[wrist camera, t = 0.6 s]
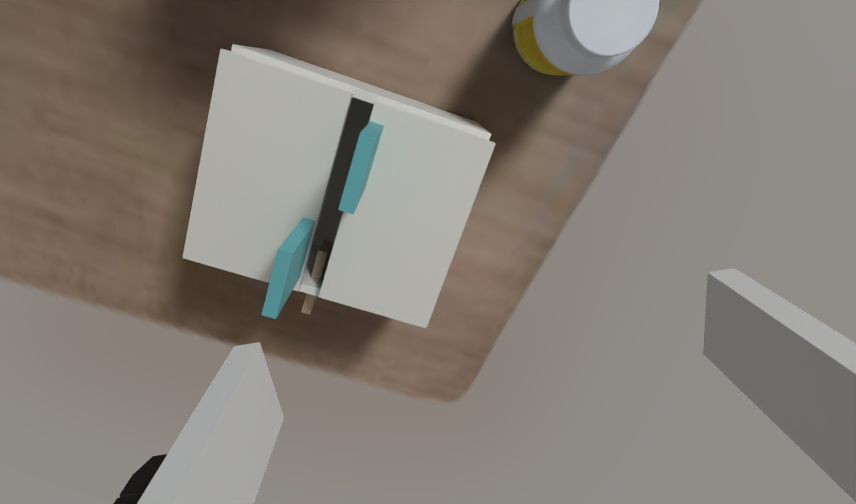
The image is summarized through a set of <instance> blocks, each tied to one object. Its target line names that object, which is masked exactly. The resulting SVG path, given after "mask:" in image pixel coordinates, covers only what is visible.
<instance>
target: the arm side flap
mask: <svg viewBox="0 0 856 504" xmlns="http://www.w3.org/2000/svg"><path fill="white" fill-rule="evenodd" d="M352 95H353V93H350V92H347V91H344V90H341V89H338V88H335V87H332V86H330V85H327V84H324V83H321V82H318V81H315V80H312V79H309V78H306V77H304V76H301V75H298V74H295V73H292V72H289V71H286V70H283V69H280V68H277V67H275V66H272V65H269V64H266V63H263V62H260V61H257V60H254V59H251V58H249V57H246V56H243V55H240V54H237V53H234V52H231V51H228V50H225V49H220V54H219V59H218V65H217V70H216V76H215V82H214V87H213V93H212V98H211V104H210V109H209V115H208V120H207V126H206V131H205V137H204V142H203V148H202V153H201V159H200V164H199V170H198V175H197V181H196V186H195V192H194V197H193V203H192V208H191V214H190V219H189V225H188V230H187V236H186V241H185V247H184V252H183V258H184V259H188V260H191V261H194V262H198V263H201V264H205V265H208V266H212V267H215V268H219V269H222V270H226V271H229V272H233V273H236V274H240V275H243V276H246V277H250V278H253V279H257V280H260V281H264V282H267V283H269V287H268V291H267V295H266V299H265V303H264V307H263V311H262V315H263V316H266V317H270V318H273V319H276V318H277V317H278V315H279V313H280V311H281V310H282V308H283V306H284V304H285V303H286V301H287V299H288V297H289V296H290V294H291V292H292V290H295V291H298V290H299V289H300V286H301V283H302V279H303V275H304V272H305V268H306V264H307V261H308V257H309V253H310V250H311V246H312V242H313V239H314V235H315V231H316V228H317V224H318V220H319V217H320V213H321V209H322V205H323V202H324V198H325V194H326V191H327V187H328V183H329V180H330V176H331V172H332V169H333V165H334V161H335V158H336V154H337V150H338V147H339V143H340V139H341V136H342V132H343V128H344V125H345V121H346V117H347V114H348V110H349V106H350V103H351V99H352Z"/></svg>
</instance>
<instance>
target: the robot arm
mask: <svg viewBox="0 0 856 504" xmlns="http://www.w3.org/2000/svg"><path fill="white" fill-rule="evenodd" d="M703 354H704V355H705V356H706V357H707V358H708V359H709V360H710V361H711V362H712V363H713V364H714V365H715V366H717V368H718V369H720V371H722V372H723V373H724V374H725V375H726V376H727V377H728V378H729V379H730V380H731V381H732V382H733V383H734V384H735V385H736V386H737V387H738V388H739V389H740V390H741V391H742V392H743V393H744V394H745V395H746V396H747V397H748V398H749V399H750V400H751V401H752V402H753V403H754V404H755V405H757V406H758V407H759V408H760V409H761V410H762V411H763V412H764V413H765V414H766V415H767V416H768V417H769V418H770V419H771V420H772V421H773V422H774V423H775V424H776V425H777V426H778V427H779V428H780V429H781V430H782V431H783V432H784V433H785V434H786V435H788V436H789V437H790V439H792V440H793V441H794V442H795V443H796V444H797V445H798V446H799V447H800V448H801V449H802V450H803V451H804V452H805V453H806V454H807V455H808V456H809V457H810V458H811V459H812V460H813V461H814V462H815V463H816V464H817V465H818V466H819V467H820V468H821V469H823V470H824V472H826V473H827V474H828V475H829V476H830V477H831V478H832V479H833V480H834V481H835V482H836V483H837V484H838V485H839V486H840V487H841V488H842V489H843V490H844V491H845V492H846V493H847V494H848V495H849V496H850V497H851V498H852V499H853V500H854V501H855V502H856V343H854V342H853V341H851V340H849V339H848V338H846V337H845V336H843V335H841V334H840V333H838V332H836V331H835V330H833V329H831V328H830V327H828V326H827V325H825V324H823V323H822V322H820V321H819V320H817V319H815V318H814V317H812V316H811V315H809V314H807V313H806V312H804V311H802V310H801V309H799V308H798V307H796V306H794V305H793V304H791V303H790V302H788V301H786V300H785V299H783V298H781V297H780V296H778V295H776V294H775V293H773V292H772V291H770V290H769V289H767V288H765V287H764V286H762V285H760V284H759V283H757V282H755V281H754V280H752V279H751V278H749V277H748V276H746V275H744V274H743V273H741V272H739V271H738V270H736V269H734V268H733V269H726V270H720V271H714V272H708V276H707V295H706V314H705V333H704V352H703ZM283 419H284V417H283V414H282V411H281V408H280V405H279V401H278V398H277V395H276V392H275V389H274V386H273V382H272V379H271V376H270V373H269V370H268V367H267V363H266V360H265V357H264V354H263V351H262V348H261V345H260V342H258V343H251V344H245V345H239V346H234V347H233V349H232V350H231V352H230V354H229V355H228V357H227V358H226V360H225V362H224V363H223V365H222V367H221V368H220V370H219V372H218V373H217V375H216V376H215V378H214V380H213V381H212V383H211V384H210V386H209V388H208V389H207V391H206V393H205V394H204V396H203V397H202V399H201V401H200V402H199V404H198V406H197V407H196V409H195V410H194V412H193V414H192V415H191V417H190V419H189V420H188V422H187V423H186V425H185V427H184V428H183V430H182V431H181V433H180V435H179V437H178V438H177V440H176V441H175V443H174V444H173V446H172V448H171V449H170V451H169V453H168V454H165V455H159V456H153V457H152V458H151V459H150V460H149V461H147V462H146V463H145V464H144V465H143V466H142V467H141V468H140V469H139V470H138V471H136V473H134V474H133V475H132V477H131V478H130V480H129V481H128V483H127V484H126V486H125V487H124V489H123V490H122V492H121V494H120V498H117V499H116V501H115V502H114V504H254V502H255V499H256V496H257V493H258V491H259V487H260V485H261V482H262V479H263V476H264V473H265V471H266V468H267V465H268V462H269V459H270V456H271V453H272V450H273V448H274V445H275V442H276V439H277V436H278V433H279V430H280V427H281V425H282V422H283Z"/></svg>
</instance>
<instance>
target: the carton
mask: <svg viewBox="0 0 856 504" xmlns="http://www.w3.org/2000/svg"><path fill="white" fill-rule="evenodd" d="M231 52H234V53H237V54H240V55H243V56H246V57H249V58H251V59H254V60H257V61H260V62H263V63H266V64H269V65H272V66H275V67H277V68H280V69H283V70H286V71H289V72H292V73H295V74H298V75H301V76H304V77H306V78H309V79H312V80H315V81H318V82H321V83H324V84H327V85H330V86H332V87H335V88H338V89H341V90H344V91H347V92H350V93H353V95H352V99H351V103H350V106H349V110H348V114H347V117H346V121H345V125H344V128H343V132H342V136H341V139H340V143H339V147H338V150H337V154H336V158H335V161H334V165H333V169H332V172H331V176H330V180H329V183H328V187H327V191H326V194H325V198H324V202H323V205H322V209H321V213H320V217H319V220H318V224H317V228H316V231H315V235H314V239H313V242H312V246H311V250H310V253H309V257H308V261H307V264H306V268H305V272H304V275H303V279H302V283H301V286H300V289H299V290H298V291H300V292H304V293H306V297H305V300H304V304H303V308H302V311H301V312H302V313H306V314H309V315H310V313H311V311H312V309H313V306H314V304H315V302H316V299H317V296H318V297H319V294H320V290H321V287H322V283H323V280H324V276H325V273H326V269H327V266H328V263H329V259H330V256H331V252H332V249H333V245H334V242H335V238H336V235H337V231H338V228H339V224H340V221H341V217H342V214H343V211H340V210H338V209H339V205H340V202H341V198H342V195H343V191H344V188H345V184H346V180H347V177H348V173H349V170H350V166H351V163H352V159H353V156H354V152H355V149H356V145H357V142H358V138H359V135H360V132H361V131H362V130H363V129H364V128H365V127H366V126H367V125H368V124H369V120H370V117H371V113H372V110H373V106H374V103H375V101H376V102H379V103H382V104H385V105H387V106H390V107H393V108H396V109H399V110H402V111H405V112H408V113H411V114H414V115H416V116H419V117H422V118H425V119H428V120H431V121H434V122H437V123H440V124H442V125H445V126H448V127H451V128H454V129H457V130H460V131H463V132H466V133H469V134H471V135H474V136H477V137H480V138H483V139H486V140H489V139H490V137H491V133H489V132H488V131H487V130H486V129H485V128H483V127H482V126H481V125H480V124H479V123H478V122H476V121H473V120H470V119H467V118H464V117H461V116H459V115H456V114H453V113H450V112H447V111H444V110H441V109H439V108H436V107H433V106H430V105H427V104H424V103H421V102H419V101H416V100H413V99H410V98H407V97H404V96H401V95H398V94H396V93H393V92H390V91H387V90H384V89H381V88H378V87H376V86H373V85H370V84H367V83H364V82H361V81H358V80H356V79H353V78H350V77H347V76H344V75H341V74H338V73H336V72H333V71H330V70H327V69H324V68H321V67H318V66H315V65H313V64H310V63H307V62H304V61H301V60H298V59H295V58H293V57H290V56H287V55H284V54H281V53H278V52H275V51H273V50H268V49H261V48H255V47H248V46H241V45H235V44H232V49H231Z"/></svg>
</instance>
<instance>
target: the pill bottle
mask: <svg viewBox="0 0 856 504" xmlns="http://www.w3.org/2000/svg"><path fill="white" fill-rule="evenodd" d="M658 8H659V0H520V2H519V3H518V5H517V8H516V10H515V13H514V16H513V20H512V40H513V44H514V47H515V50H516V52H517V54H518V56H519V57H520V59H521V60H522V61H523V62H524V63H525V64H526V65H527V66H528V67H529V68H531V69H532V70H534V71H536V72H539V73H542V74H546V75H592V74H597V73H601V72H604V71H606V70H609V69H611V68H612V67H614V66H616V65H617V64H619V63H620V62H621V61H622V60H624V59H625V58H626V57H627V56H628V55H629V54H630V53H631V51H632V50H633V49H634V48H635V47H636V46H637V45H638V44H639V43H641V42H642V41H643V40H644V38H645V37H646V36H647V35H648V33H649V32H650V30H651V28H652V27H653V24H654V22H655V20H656V17H657V13H658Z"/></svg>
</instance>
